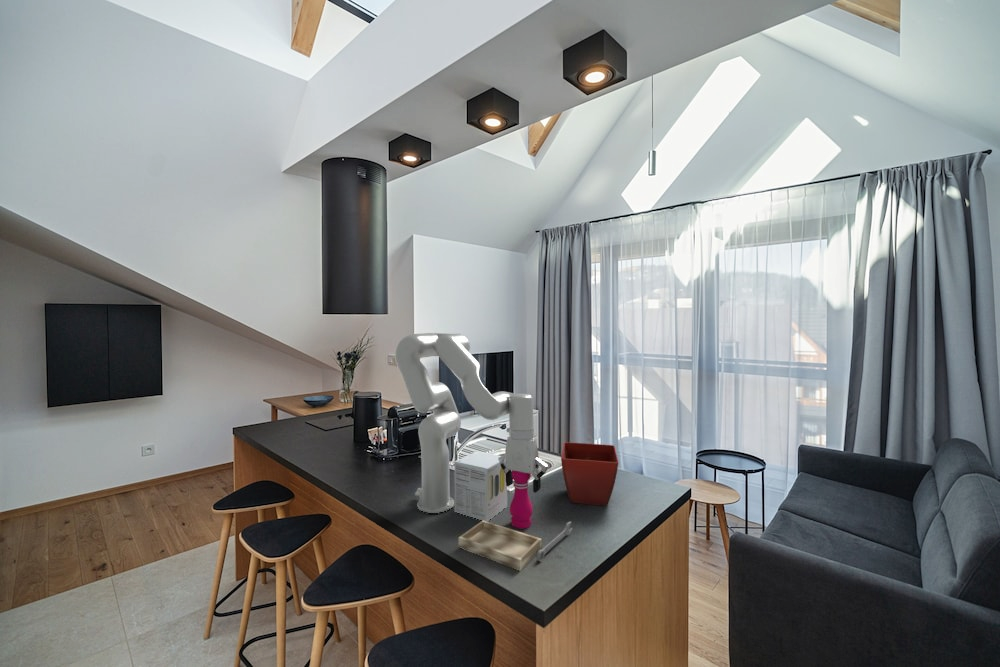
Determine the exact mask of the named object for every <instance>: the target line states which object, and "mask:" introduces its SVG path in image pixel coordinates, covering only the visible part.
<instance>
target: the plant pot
mask: <svg viewBox="0 0 1000 667" xmlns="http://www.w3.org/2000/svg"><path fill="white" fill-rule="evenodd" d="M560 461H561V468H562V470H561V471H562V474H563V480H564V484H565V488H566V491H567V496H568V498H569V501H570V503H573V504H582V505H594V506H604V507H605V506H608V505H609V501H610V500H611V496H612V494H613V491H614V489H615V488H614V487H615V483H616V478H617V474H618V469H619V459H618V455H617V451H616V446H615V444H614V445H611V444H602V443H601V444H600V443H585V442H584V443H583V442H568V441H566V442H563V444H562V451H561V457H560Z"/></svg>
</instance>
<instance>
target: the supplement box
mask: <svg viewBox="0 0 1000 667" xmlns="http://www.w3.org/2000/svg"><path fill="white" fill-rule="evenodd" d="M501 456H502V455H497V454H493V453H489V452H483V451H478V450H476V451H474V452H472V453H470V454H468V455H465V456H463V457H461V458H459V459H457V460H455V461H454V513H455V512H457V513H460V514H459V515H461V514H463V515H462V516H464V515H466V516H465V517H467V516H470V517H473V518H472V519H474V518H476V519H475V520H477V519H479V520H478V521H480V520H484V521H487V522H489V521H491V520H492V519H493V518H495V517H496V516H497V515H499V514H500V513H501V512H503V511H504V510H505V509H507V508H508V486H506V475H505V473H504V470H503V469H502V467H501V464H500V462H499V460H498V458H499V457H501ZM504 461H505V460H504ZM504 508H505V509H504ZM503 509H504V510H503ZM499 512H500V513H499ZM457 513H456V514H457ZM498 513H499V514H498ZM495 515H496V516H495ZM494 516H495V517H494ZM470 517H469V518H470ZM490 519H491V520H490Z"/></svg>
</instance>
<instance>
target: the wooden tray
mask: <svg viewBox="0 0 1000 667" xmlns="http://www.w3.org/2000/svg"><path fill="white" fill-rule="evenodd" d="M542 540H543V539H542V538H540V537H537V536H534V535H531V534H528V533H525V532H522V531H518V530H515V529H512V528H510V527H506V526H503V525H499V524H496V523H493V522H489V521H488V522H487V521H484V520H482V521H479V523H477V524H475V525H474V526H473V527H471V528H470V529H469V530H467V531H466V532H465V533H463V534H461V535H460V536H458V548H459V547H462V548H464V549H466V550H469V551H472V552H474V553H476V554H479V555H481V556H484V557H486V558H489V559H492V560H494V561H497V562H499V563H502V564H504V565H503V566H505V565H506V566H505V567H507V566H509V567H508V568H510V567H512V568H511V569H513V568H514V569H513V570H515V569H516V570H515V571H518V570H519V571H518V572H521V571H522V570H523V569H524V568H525V567H526V566H527V565H528V564H529V563H530V562H531V561H532V560H533V559H534V558H535V557H537V553H538V551H539V550H541V549H543V548H542V544H543V543H542ZM476 554H475V555H476ZM481 556H480V557H481ZM486 558H485V559H486ZM489 559H488V560H489ZM494 561H493V562H494ZM497 562H496V563H497ZM499 563H498V564H499ZM502 564H501V565H502Z"/></svg>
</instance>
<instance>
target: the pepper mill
mask: <svg viewBox="0 0 1000 667" xmlns="http://www.w3.org/2000/svg"><path fill="white" fill-rule="evenodd" d="M511 471H512V470H511ZM531 476H532V474H531V473H530V474H528V473H522V472H518V471H512V478H513V484H512V486H513V487H514V494H513V497H512V500H511V503H510V506H509V513H510V515H511V518H510V520H511V521H510V524H511V526H512V527H513V526H514V528H515V527H516V529H528V528H530V527H531V526H532V518H531V516H532V515H533V511H534V510H533V504H532V502H531V500H530V497H529V492H528V491H529V490H528V489H529V487H530V481H529V480H530V479H531Z"/></svg>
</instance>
